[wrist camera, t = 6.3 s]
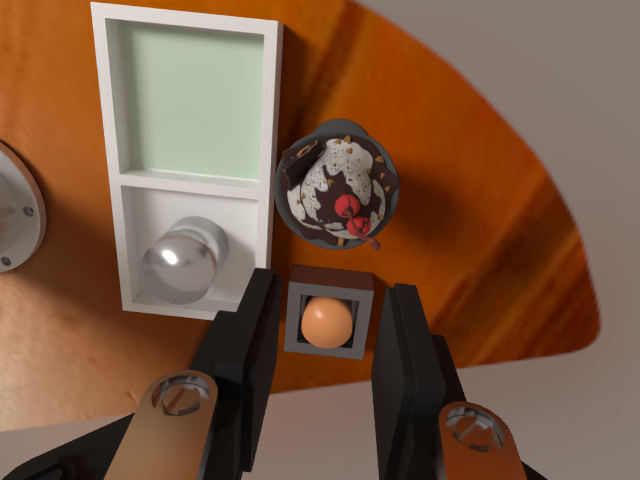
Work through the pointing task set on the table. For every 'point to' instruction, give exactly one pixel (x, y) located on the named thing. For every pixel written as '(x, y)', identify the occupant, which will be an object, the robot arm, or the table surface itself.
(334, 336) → the button cap
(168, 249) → the cylinder
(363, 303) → the button housing
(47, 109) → the table surface
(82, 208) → the table surface
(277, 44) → the shallow white tray
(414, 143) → the table surface
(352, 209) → the sundae
